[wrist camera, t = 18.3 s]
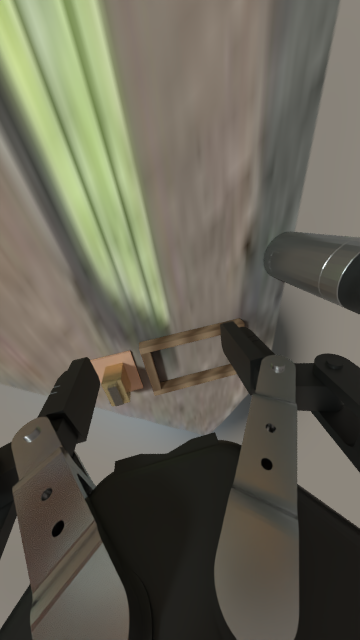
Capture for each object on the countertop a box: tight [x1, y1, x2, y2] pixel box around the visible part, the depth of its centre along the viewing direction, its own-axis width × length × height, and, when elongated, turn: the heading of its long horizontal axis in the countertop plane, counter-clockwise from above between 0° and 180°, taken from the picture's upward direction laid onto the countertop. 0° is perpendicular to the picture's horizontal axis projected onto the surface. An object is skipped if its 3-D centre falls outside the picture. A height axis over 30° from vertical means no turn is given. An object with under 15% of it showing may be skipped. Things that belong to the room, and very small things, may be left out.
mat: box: [90, 351, 143, 391], centre depth 46 cm, size 9×12×1 cm
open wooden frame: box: [139, 318, 244, 396], centre depth 47 cm, size 24×15×2 cm, turn 100°
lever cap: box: [101, 363, 131, 406], centre depth 44 cm, size 4×7×6 cm, turn 9°
